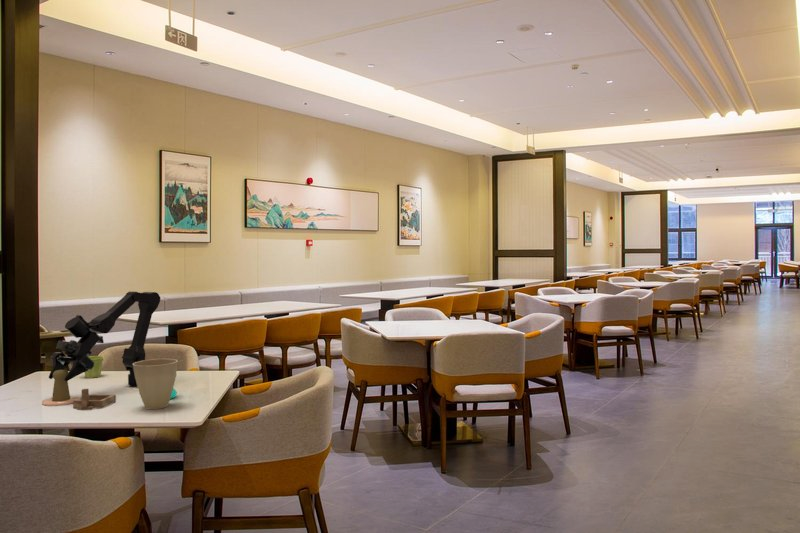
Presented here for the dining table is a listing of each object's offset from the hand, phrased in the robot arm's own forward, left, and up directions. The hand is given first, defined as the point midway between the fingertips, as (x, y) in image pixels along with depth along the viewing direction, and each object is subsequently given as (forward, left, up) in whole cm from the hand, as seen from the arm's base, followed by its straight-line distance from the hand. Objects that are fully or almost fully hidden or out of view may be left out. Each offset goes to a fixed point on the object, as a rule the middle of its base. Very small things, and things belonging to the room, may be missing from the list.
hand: (57, 379), depth 229 cm
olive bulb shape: (-1, -1, -8) cm, 8 cm away
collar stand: (-11, +11, -8) cm, 18 cm away
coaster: (-1, -1, -9) cm, 9 cm away
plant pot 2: (-31, +24, -9) cm, 40 cm away
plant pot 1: (-13, -50, -9) cm, 52 cm away
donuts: (-35, +10, -9) cm, 38 cm away
